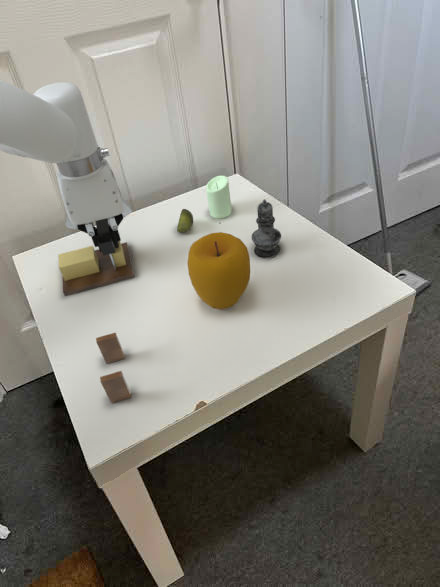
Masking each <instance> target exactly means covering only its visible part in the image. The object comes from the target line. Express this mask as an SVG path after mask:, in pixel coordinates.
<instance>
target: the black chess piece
mask: <svg viewBox="0 0 440 587" xmlns="http://www.w3.org/2000/svg"><path fill="white" fill-rule="evenodd" d="M256 210H257V212H256V213H257V218H256V219H255V223H256V224H257V229H256V230H255V231H253V233H252V234H251V241H252V242H253V244H254V249H253V253H254V255H255V256H256V257H258V258H260V259H265V260H266V259H267V260H268V259H272V258H275V257H277V256H278V255H279V254H280V252H281V247H280V245H279V243H280V241H281V239H282V233H281V231H280V230H278V229H277V228H275V226H274V224H275V222H276V218H275V216H274V212H273V211H274V209H273V205H272V203H271V202H268V201H267V200H266V199H265V198H264V199H263V200H262V202H260V203H259V204H258V205H257V208H256Z"/></svg>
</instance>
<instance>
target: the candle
mask: <svg viewBox="0 0 440 587" xmlns="http://www.w3.org/2000/svg"><path fill="white" fill-rule="evenodd" d="M205 191H206V197H207V202H208V210H209V215H210V216H211V217H212V218H214V219H225V218H227V217H229V216H230V215H231V214H232V210H233V209H232V200H231V193H230V183H229V178H228V177H227V176H226V175H217V176H214V177H213V178H211V179H210V180H209V181H208V182H207V183H206V186H205Z"/></svg>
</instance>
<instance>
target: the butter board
mask: <svg viewBox="0 0 440 587" xmlns="http://www.w3.org/2000/svg"><path fill="white" fill-rule="evenodd" d="M121 245H122V249H123V252H124V256H125V261H126V265H124V266H120V267H116V268H117V269H116V270H115V269H114V266H113V263H112V261H111V258H110V255H109V254H108V255H104V256H103V254H102V252H100V250H99V248H97V249H94V250H95V252H96V255H97V258H98V263H99V271H100V272H97V273H93V274H90V275H86V276H82V277H78V278H74V279H71V280H67V281H65V280H64V278H63V276H62V278H61V279H62V293H63V295H64V297H65V296H69V295H73V294H78V293H80V292H84V291H88V290H92V289H95V288H99V287H104V286H107V285H111V284H114V283H118V282H122V281H125V280H129V279H133V278H136V277H135V273H134V272H135V271H134V267H133V263H132V258H131V254H130V249H129V244H128V242H127V241H126V242H121Z"/></svg>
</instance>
